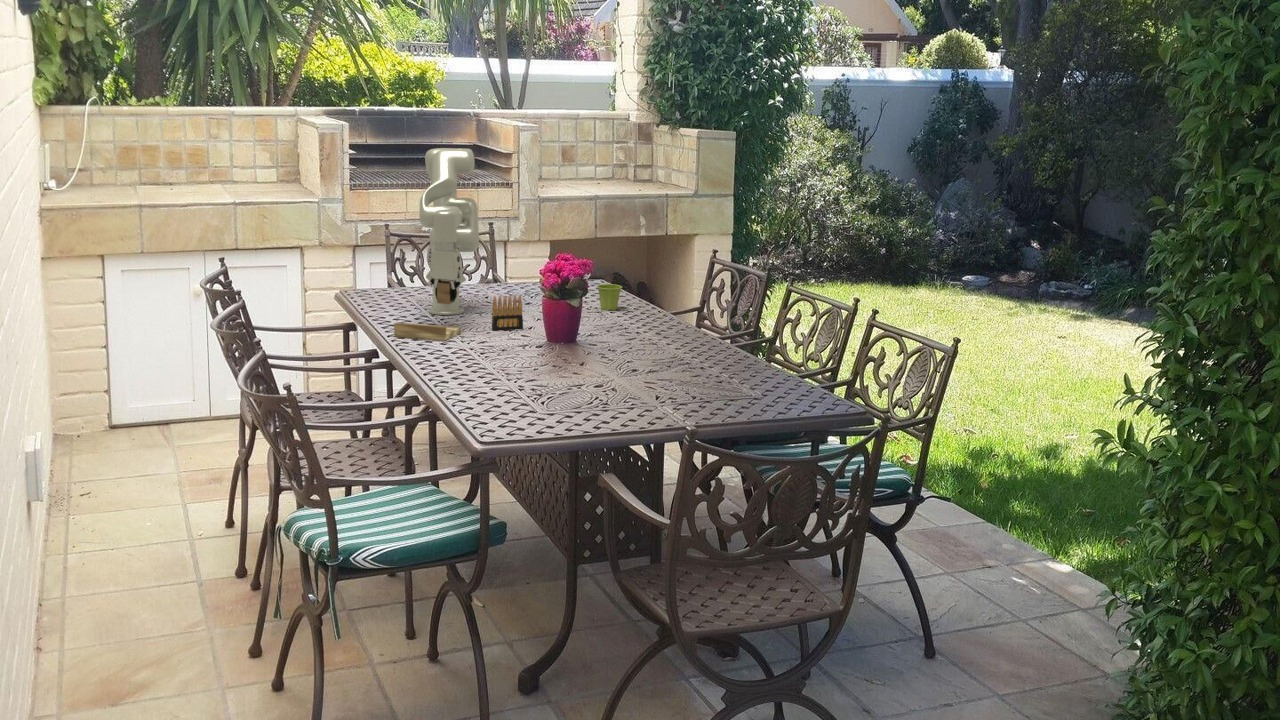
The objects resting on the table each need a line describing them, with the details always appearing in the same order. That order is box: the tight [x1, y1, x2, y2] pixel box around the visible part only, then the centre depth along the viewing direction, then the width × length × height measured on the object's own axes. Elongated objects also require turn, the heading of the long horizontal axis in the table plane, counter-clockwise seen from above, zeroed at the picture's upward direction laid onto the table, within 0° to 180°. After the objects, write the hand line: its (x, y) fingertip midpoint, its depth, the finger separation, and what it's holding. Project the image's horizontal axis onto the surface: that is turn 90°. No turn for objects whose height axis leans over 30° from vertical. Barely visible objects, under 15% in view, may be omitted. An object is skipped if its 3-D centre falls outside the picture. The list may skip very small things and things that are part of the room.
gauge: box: [437, 280, 460, 304], centre depth 438 cm, size 12×4×7 cm, turn 164°
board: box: [393, 322, 462, 342], centre depth 425 cm, size 13×18×4 cm
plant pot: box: [596, 283, 623, 311], centre depth 476 cm, size 9×9×9 cm
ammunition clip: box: [491, 294, 524, 332], centre depth 436 cm, size 11×2×12 cm, turn 110°
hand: (446, 298), depth 436 cm, fingers closed on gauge, 4 cm apart
